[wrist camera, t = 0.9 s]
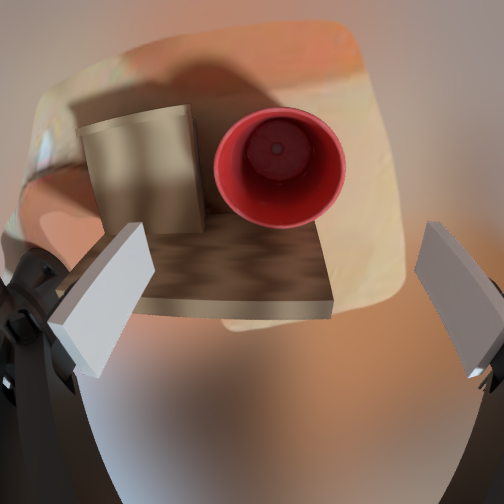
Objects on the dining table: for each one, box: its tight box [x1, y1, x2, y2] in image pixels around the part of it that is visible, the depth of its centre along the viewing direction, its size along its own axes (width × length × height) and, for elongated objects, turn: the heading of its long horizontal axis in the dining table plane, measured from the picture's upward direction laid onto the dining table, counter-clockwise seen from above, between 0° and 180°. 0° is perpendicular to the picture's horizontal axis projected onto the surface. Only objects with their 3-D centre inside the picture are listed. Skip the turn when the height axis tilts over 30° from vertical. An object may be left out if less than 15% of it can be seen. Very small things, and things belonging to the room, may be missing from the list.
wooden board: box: [56, 213, 334, 320], centre depth 29 cm, size 26×2×16 cm, turn 93°
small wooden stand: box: [75, 104, 206, 236], centre depth 30 cm, size 13×14×6 cm
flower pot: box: [213, 107, 346, 229], centre depth 26 cm, size 11×11×10 cm
